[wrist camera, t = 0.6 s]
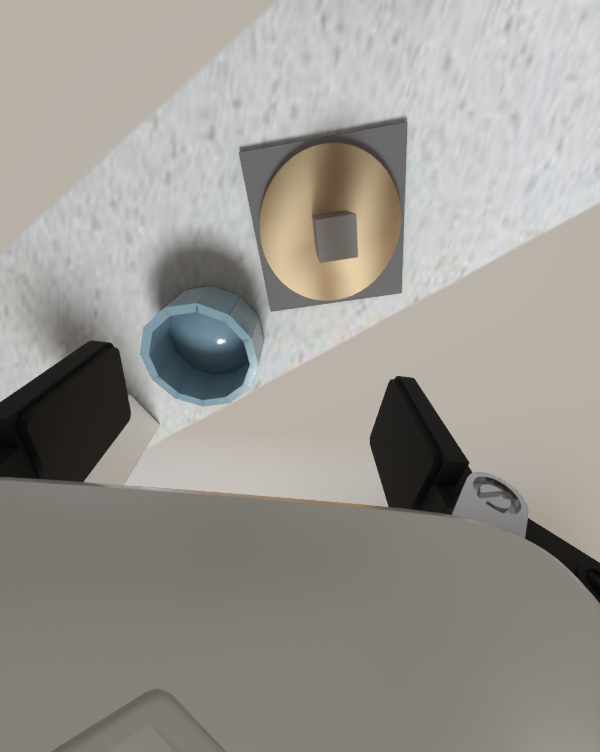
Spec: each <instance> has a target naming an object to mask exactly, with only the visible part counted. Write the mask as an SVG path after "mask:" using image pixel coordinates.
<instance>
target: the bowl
mask: <svg viewBox="0 0 600 752" xmlns="http://www.w3.org/2000/svg"><path fill="white" fill-rule="evenodd" d="M263 344H264V337H263V333H262V328H261V324H260V319H259V316H258V315H257V314H256V313H255V312H254V311H253V309H252V308H251V307H250V306H249V305H248V304H247V303H246V302H245V301H244V299H243V298H242V297H241V296H239V295H237V294H234V293H231V292H229V291H226V290H224V289H221V288H218V287H216V286H207V287H200V288H193V289H187V290H185V291H184V292H183V293H181V294H180V295H179V296H178V297H177V298H175V299H174V300H173V301H172V302H171V303H169V304H168V305H167V306H166V307H165V308H163V309H162V310H161V311H160V312H159V313H158V314H157V315H156V316H155V317H154V318H153V319H152V320H151V321H150V322H149V323H148V324H146V325H145V326H144V328H143V336H142V343H141V350H140V355H141V357H142V359H143V361H144V363H145V365H146V368H147V370H148V372H149V374H150V376H151V378H152V379H153V381H155V382H156V383H157V384H158V385H160V386H161V387H162V388H163V389H164V390H166V391H167V392H168V393H169V394H171V395H172V396H173V397H174V398H176V399H180V400H183V401H186V402H190V403H193V404H197V405H200V406H210V405H218V404H226V403H230V402H232V401H233V400H235V399H236V398H238V397H239V396H240V395H242V394H243V393H245V392H246V391H247V390H249V389H250V387H251V384H252V382H253V379H254V376H255V374H256V371H257V368H258V365H259V361H260V357H261V352H262V348H263Z"/></svg>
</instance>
